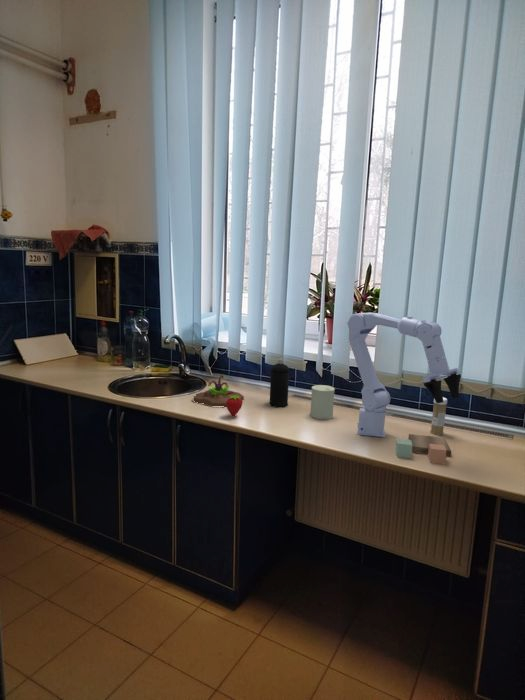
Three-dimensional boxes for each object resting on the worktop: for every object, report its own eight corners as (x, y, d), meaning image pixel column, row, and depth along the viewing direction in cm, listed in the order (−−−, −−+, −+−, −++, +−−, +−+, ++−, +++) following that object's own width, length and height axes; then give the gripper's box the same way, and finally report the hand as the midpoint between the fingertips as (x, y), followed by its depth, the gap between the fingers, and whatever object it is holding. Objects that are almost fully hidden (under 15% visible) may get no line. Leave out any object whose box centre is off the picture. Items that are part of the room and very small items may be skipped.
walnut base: (411, 452, 157) (412, 446, 156) (408, 439, 168) (408, 433, 168) (450, 456, 154) (451, 450, 154) (444, 443, 166) (444, 437, 165)
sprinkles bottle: (428, 430, 178) (431, 396, 175) (439, 430, 178) (443, 396, 176) (433, 435, 173) (437, 399, 171) (445, 435, 174) (449, 399, 171)
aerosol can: (287, 408, 198) (289, 361, 195) (267, 406, 200) (269, 360, 196) (289, 402, 206) (291, 357, 203) (270, 401, 208) (272, 356, 204)
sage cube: (396, 456, 153) (397, 443, 152) (395, 451, 157) (396, 438, 156) (411, 458, 152) (412, 445, 151) (409, 453, 156) (410, 440, 155)
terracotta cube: (429, 462, 149) (431, 448, 148) (427, 456, 154) (429, 443, 153) (444, 464, 148) (446, 450, 148) (442, 458, 153) (444, 445, 152)
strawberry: (245, 415, 187) (246, 390, 186) (235, 420, 181) (236, 395, 179) (232, 412, 190) (232, 388, 188) (222, 417, 183) (223, 392, 182)
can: (321, 421, 184) (323, 391, 182) (305, 414, 191) (306, 385, 189) (337, 416, 190) (339, 387, 188) (321, 410, 197) (322, 382, 195)
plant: (251, 400, 209) (252, 375, 207) (223, 410, 193) (224, 383, 191) (215, 392, 220) (216, 368, 218) (186, 401, 204) (187, 375, 202)
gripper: (430, 360, 146) (442, 403, 145) (461, 352, 153) (473, 394, 152) (413, 364, 152) (425, 406, 151) (444, 357, 160) (455, 396, 158)
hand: (448, 400), depth 152 cm, fingers open, 7 cm apart
